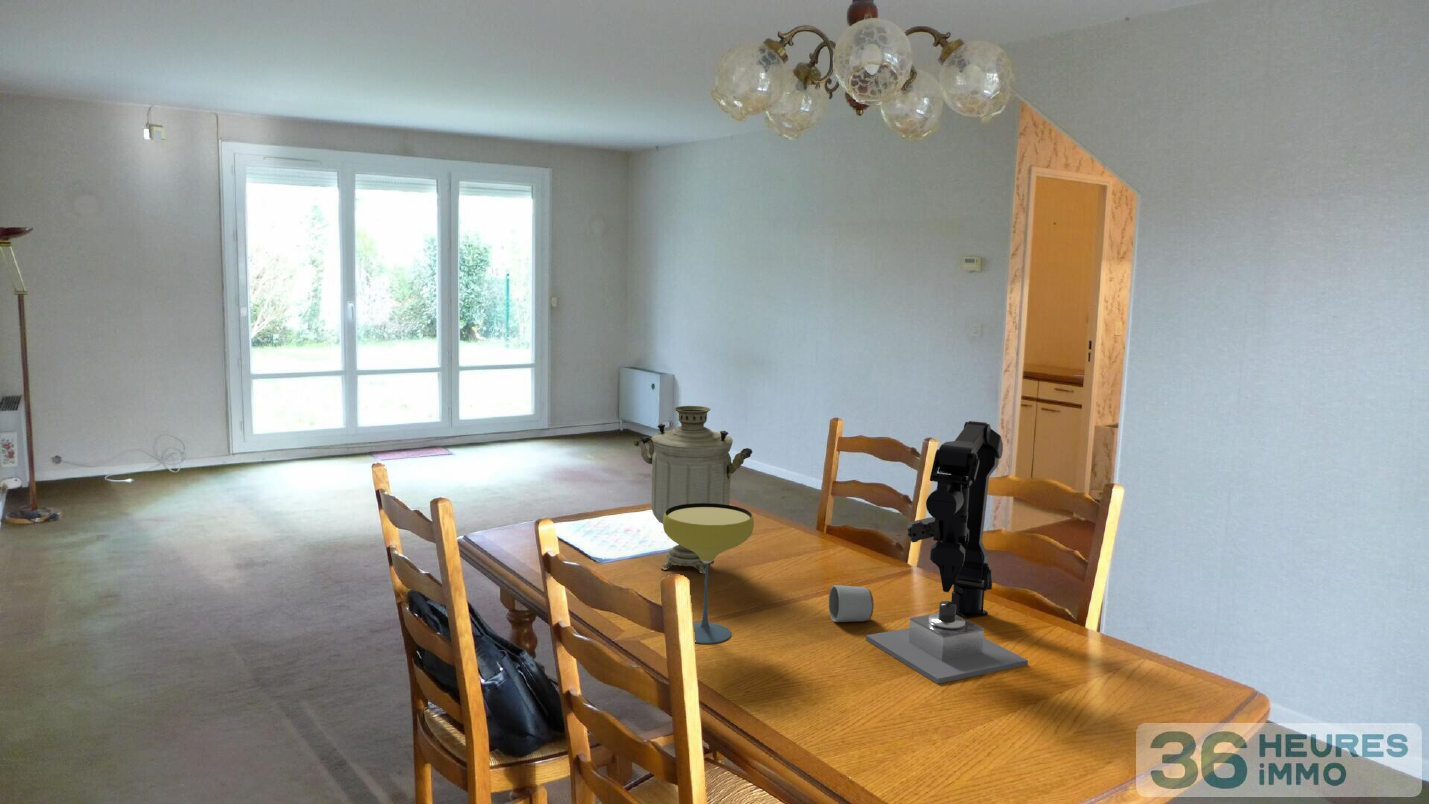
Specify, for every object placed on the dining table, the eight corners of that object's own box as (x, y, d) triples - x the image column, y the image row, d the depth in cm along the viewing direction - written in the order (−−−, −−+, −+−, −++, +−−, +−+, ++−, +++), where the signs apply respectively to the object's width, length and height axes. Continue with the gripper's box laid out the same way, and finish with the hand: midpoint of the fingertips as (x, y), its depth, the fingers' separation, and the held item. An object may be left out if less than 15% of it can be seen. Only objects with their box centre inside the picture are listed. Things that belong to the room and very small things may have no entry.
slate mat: (950, 625, 196) (951, 620, 196) (1027, 665, 176) (1028, 660, 176) (865, 640, 186) (866, 635, 186) (937, 684, 167) (937, 678, 166)
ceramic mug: (874, 626, 194) (876, 590, 193) (837, 627, 193) (839, 591, 192) (857, 609, 204) (859, 575, 204) (822, 610, 203) (824, 576, 202)
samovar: (771, 562, 236) (778, 407, 231) (717, 589, 214) (723, 419, 209) (676, 541, 252) (680, 396, 246) (616, 564, 230) (619, 405, 224)
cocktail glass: (647, 623, 191) (650, 505, 188) (727, 613, 198) (731, 500, 195) (679, 656, 175) (682, 528, 171) (764, 644, 182) (769, 521, 179)
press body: (947, 634, 188) (949, 611, 187) (982, 653, 179) (984, 628, 178) (908, 641, 183) (910, 617, 183) (941, 661, 174) (943, 635, 174)
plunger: (947, 636, 186) (949, 596, 185) (971, 649, 179) (974, 607, 178) (919, 641, 183) (922, 600, 181) (942, 654, 176) (945, 612, 175)
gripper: (916, 493, 192) (912, 565, 195) (905, 515, 175) (901, 594, 177) (971, 499, 189) (966, 572, 191) (966, 522, 171) (960, 602, 174)
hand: (947, 584), depth 183 cm, fingers open, 9 cm apart
